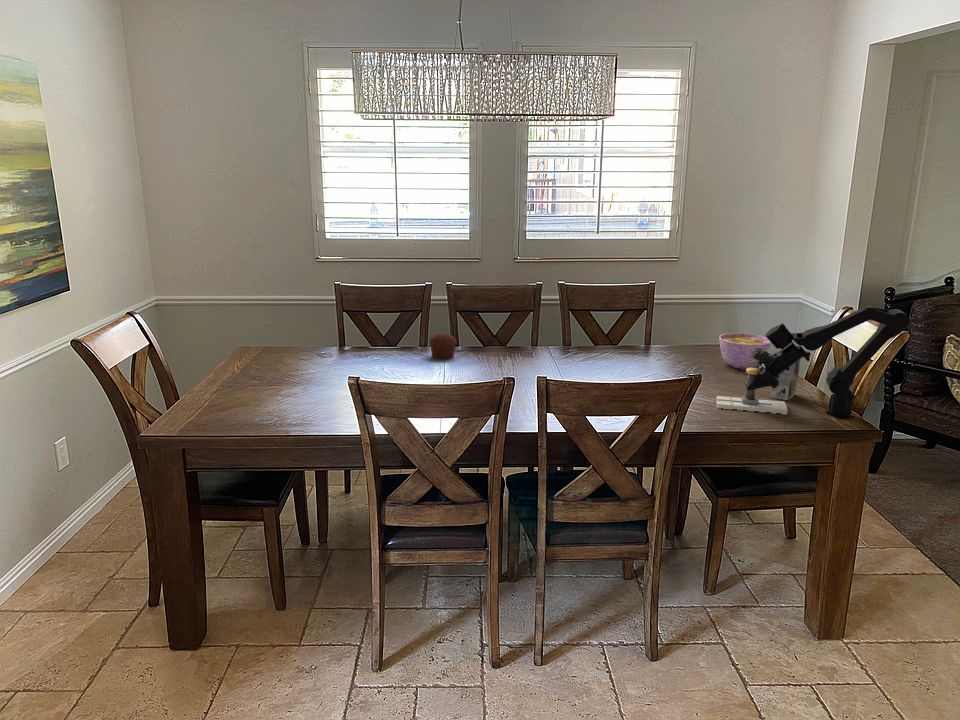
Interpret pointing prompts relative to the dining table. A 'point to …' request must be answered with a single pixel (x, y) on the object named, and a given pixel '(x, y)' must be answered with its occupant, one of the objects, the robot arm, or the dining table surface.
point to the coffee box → (787, 383)
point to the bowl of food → (742, 348)
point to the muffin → (442, 346)
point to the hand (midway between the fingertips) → (746, 387)
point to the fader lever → (752, 376)
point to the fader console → (751, 405)
